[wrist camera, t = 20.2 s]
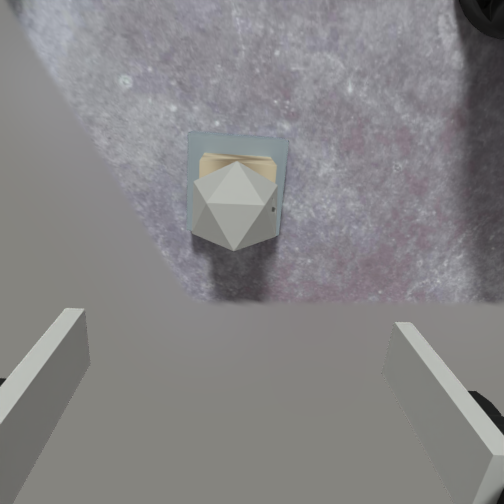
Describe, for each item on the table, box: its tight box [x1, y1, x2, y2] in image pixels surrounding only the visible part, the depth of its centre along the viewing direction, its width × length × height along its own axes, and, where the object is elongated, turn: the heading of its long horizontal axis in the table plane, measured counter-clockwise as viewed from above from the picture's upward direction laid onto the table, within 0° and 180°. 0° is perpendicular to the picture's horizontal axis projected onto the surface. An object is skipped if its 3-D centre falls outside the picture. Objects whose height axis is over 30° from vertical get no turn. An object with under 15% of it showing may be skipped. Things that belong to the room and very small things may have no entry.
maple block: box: [199, 153, 277, 183], centre depth 43 cm, size 8×8×7 cm
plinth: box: [187, 131, 289, 236], centre depth 48 cm, size 12×12×4 cm
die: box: [192, 161, 278, 251], centre depth 36 cm, size 8×9×10 cm
